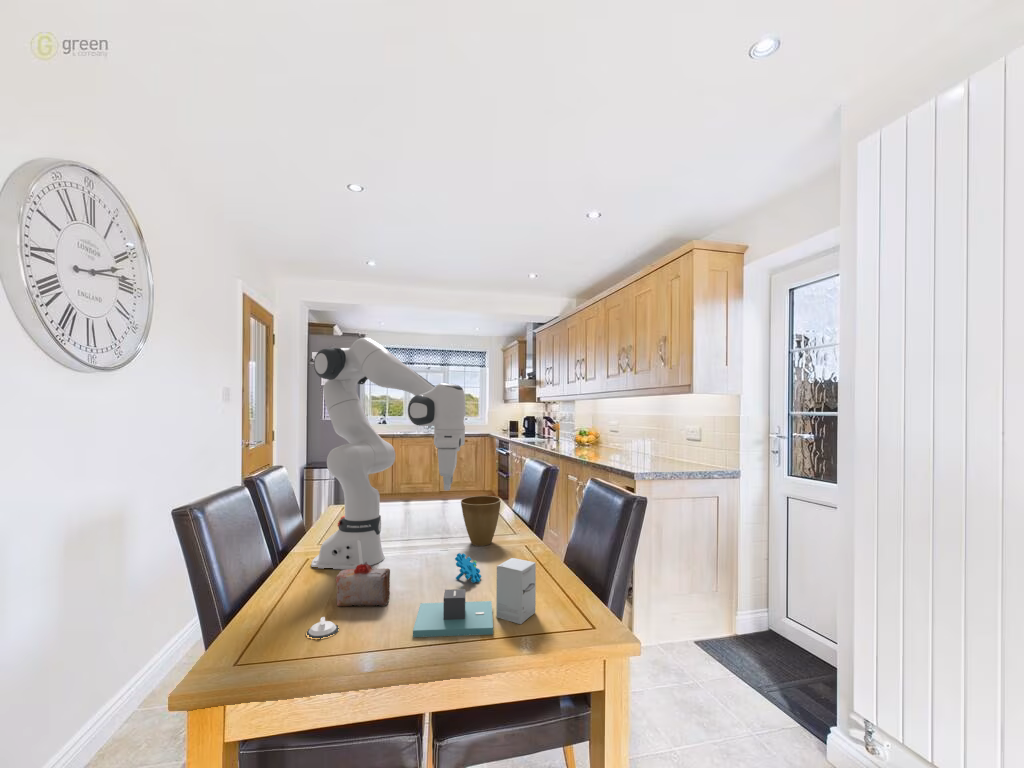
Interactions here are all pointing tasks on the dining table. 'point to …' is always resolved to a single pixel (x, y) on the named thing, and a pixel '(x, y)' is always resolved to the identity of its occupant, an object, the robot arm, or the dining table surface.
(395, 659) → the dining table surface
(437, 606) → the control panel
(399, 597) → the dining table surface
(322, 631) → the stove knob
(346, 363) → the robot arm
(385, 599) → the food item
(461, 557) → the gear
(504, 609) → the supplement box
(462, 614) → the grey marked cube
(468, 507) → the plant pot
